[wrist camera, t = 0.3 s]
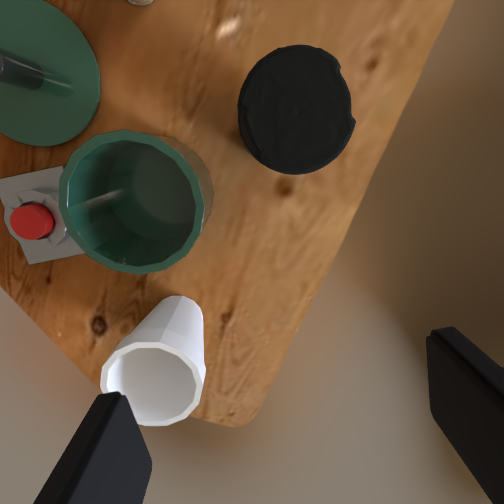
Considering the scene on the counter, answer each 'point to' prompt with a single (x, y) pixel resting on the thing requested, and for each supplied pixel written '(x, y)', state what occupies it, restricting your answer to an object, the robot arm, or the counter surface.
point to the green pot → (135, 200)
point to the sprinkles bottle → (140, 2)
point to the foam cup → (160, 363)
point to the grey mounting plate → (46, 194)
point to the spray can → (295, 110)
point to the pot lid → (44, 74)
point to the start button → (31, 221)
